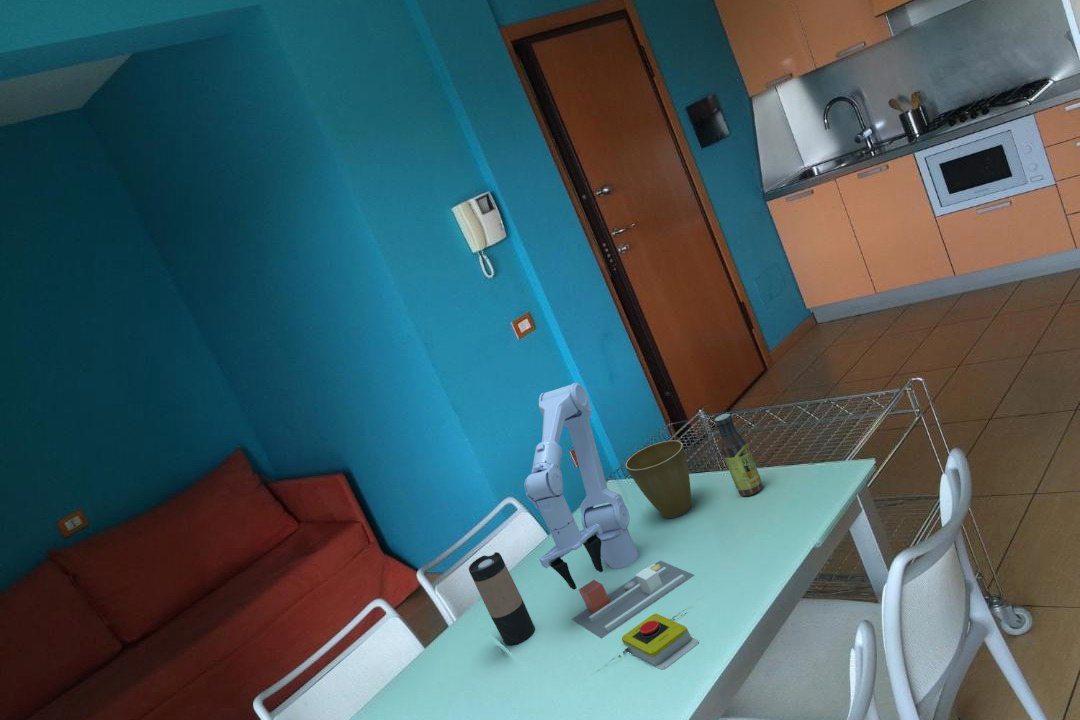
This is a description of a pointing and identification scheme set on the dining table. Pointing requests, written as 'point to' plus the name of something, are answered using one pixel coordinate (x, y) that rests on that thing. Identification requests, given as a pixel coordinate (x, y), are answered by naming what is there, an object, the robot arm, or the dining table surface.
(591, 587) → the block
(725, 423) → the sauce bottle
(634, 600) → the panel
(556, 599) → the dining table surface
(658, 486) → the plant pot
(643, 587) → the lever
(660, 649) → the emergency button
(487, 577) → the travel mug
